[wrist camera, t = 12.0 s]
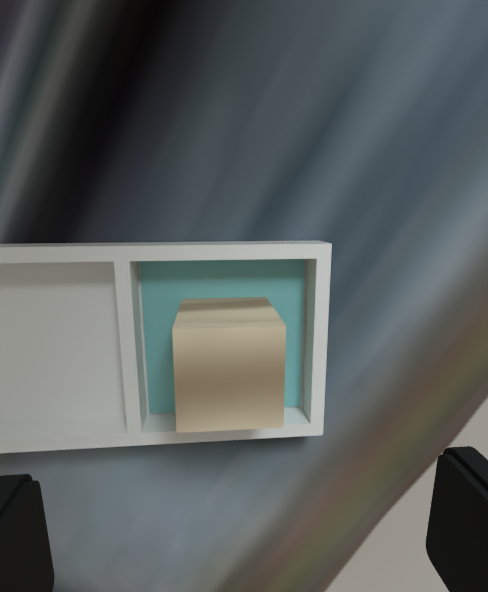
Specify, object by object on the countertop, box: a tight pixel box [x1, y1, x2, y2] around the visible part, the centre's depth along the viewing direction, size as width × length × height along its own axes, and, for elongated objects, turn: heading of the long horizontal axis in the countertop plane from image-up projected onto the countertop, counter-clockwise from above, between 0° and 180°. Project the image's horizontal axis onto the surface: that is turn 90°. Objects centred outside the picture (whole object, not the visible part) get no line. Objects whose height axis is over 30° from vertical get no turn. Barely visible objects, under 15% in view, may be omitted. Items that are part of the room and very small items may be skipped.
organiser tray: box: [0, 241, 332, 453], centre depth 22 cm, size 12×22×2 cm, turn 90°
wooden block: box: [172, 297, 286, 433], centre depth 20 cm, size 5×5×6 cm
